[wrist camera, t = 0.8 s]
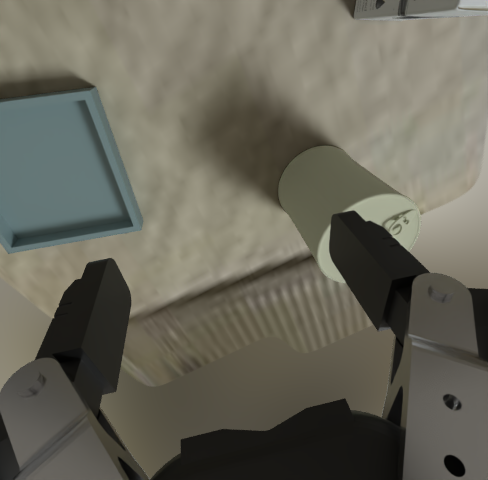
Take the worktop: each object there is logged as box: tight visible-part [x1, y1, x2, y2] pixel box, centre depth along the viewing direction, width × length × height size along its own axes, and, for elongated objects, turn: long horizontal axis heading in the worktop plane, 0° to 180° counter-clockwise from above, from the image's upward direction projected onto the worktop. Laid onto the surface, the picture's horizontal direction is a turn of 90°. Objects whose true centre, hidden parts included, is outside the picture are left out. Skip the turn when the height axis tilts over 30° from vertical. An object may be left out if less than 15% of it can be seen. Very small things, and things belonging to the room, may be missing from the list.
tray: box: [0, 87, 143, 254], centre depth 27 cm, size 13×13×2 cm
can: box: [278, 146, 421, 283], centre depth 29 cm, size 9×9×12 cm
